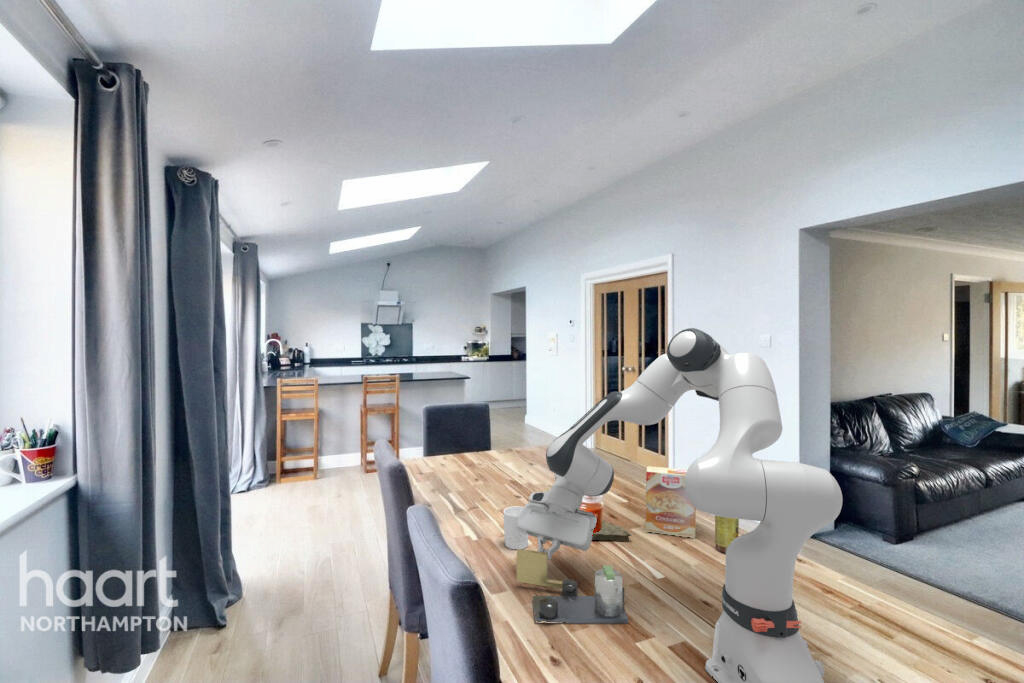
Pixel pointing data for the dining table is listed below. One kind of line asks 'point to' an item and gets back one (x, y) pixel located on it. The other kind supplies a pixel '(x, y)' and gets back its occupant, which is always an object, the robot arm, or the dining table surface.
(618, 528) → the stone slab
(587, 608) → the base
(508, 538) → the white cup
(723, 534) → the sauce bottle
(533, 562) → the olive upright panel
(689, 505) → the coffeecake box
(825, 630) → the dining table surface
